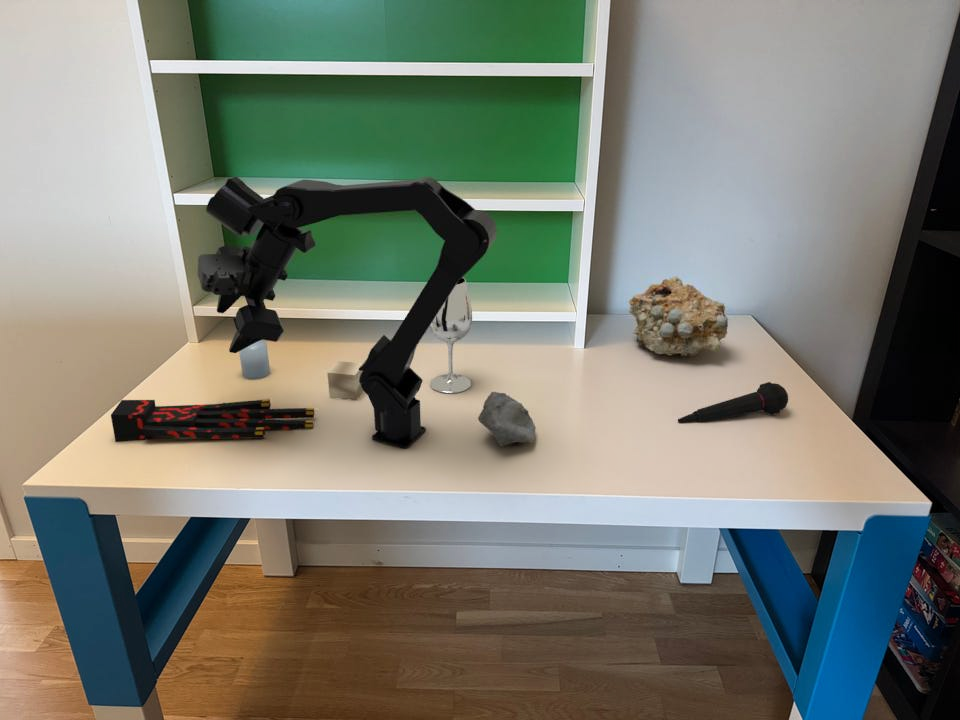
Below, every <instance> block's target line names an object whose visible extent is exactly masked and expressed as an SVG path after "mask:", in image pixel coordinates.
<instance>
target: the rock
mask: <svg viewBox="0 0 960 720" xmlns="http://www.w3.org/2000/svg"><path fill="white" fill-rule="evenodd" d="M682 281H683V280H682V279H681V278H679V277H678V276H677V275H676V276H672V277H670V278H669V279H667V278H665V279H663V280H662V282H661V283H660V284H657V283H656V284H655V283H653V284H650V285H649V287H648V288H647V290H645V291H644V292H641V293H640V294H635V295H633V296H632V298H631V299H629V301H628V303H629V305H630V307H629V309H628V313H629V314H631V315H633V317H634V318H635V321H636V324H637V326H636V327H635V329H634V330H633V332H632V333H631V334H632V335H633V334H634V335H636V336H637V337H636V343H637V344H638V346H639V347H641V348H647V349H649V350H650V351H651V352H652V351H653V352H654V353H655V354H657V355H667V356H673V355H676V354H679V355H680V356H681V357H688V356H691V357H695V356H696V355H697V354H698V353H699V352H700V350H701V349H705V350H706V349H707V350H709V351H713V352H718V351H719V348H720V347H721V341H722V339H724V338H725V339H726V337H727V334H728V328H729V327H728V325H729V323H728V320H729V318H728V317H727V316H726V315H725V310H726V307H725V302H724V303H723V302H721V301H720V300H719V301H718V300H712V299H711V298H709V297H707V296H705V295H704V294H703V293H702V292H701V291H700V290H698V289H697V288H696V287H694V285H690V284H686V285H684V284H683V282H682Z"/></svg>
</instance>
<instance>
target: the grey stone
mask: <svg viewBox="0 0 960 720" xmlns="http://www.w3.org/2000/svg"><path fill="white" fill-rule="evenodd" d="M477 419H478V421H479V423H480V424H482V426H484V427H485V428H486V429H487V430H488V431H490V432H491V433H492V435H493V437H494V438H495V439H496V441H497V443H498V444H499V445H500V446H501V447H503V446H507V445H511V444H513V443H531V442H532V441H533V439H534V438H535V434H536V425H535V423H534V421H533V418H532V417H531V416H530V414H529V410H528V409H527V408H525V406H524V405H523V404H522V403H521V402H519V401H517V400H516V399H514V398H513V397H511V396H510V395H507V393H506V392H505V393H504V392H498V391H491V392H490V394H489V395H488V396H487V398H486V399H485V400H484V402H483V407H482V410H481V411H480V413H479V415H478V417H477Z"/></svg>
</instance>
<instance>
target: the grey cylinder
mask: <svg viewBox="0 0 960 720" xmlns="http://www.w3.org/2000/svg"><path fill="white" fill-rule="evenodd" d="M238 353H239V358H240V359H239V361H240V365H241V373H242V377H243V378H244V379H245V380H249V381H251V380H253V381H254V380H262V379H264V378H267V377H269V376H270V374H271V367H270V360H269V352H268V344H267V342H266V340H260V341H258V342H256V343H254V344H252V345H250V346H248V347H246V348H244V349H243V350H241V351H239V352H238Z"/></svg>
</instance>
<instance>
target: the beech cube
mask: <svg viewBox="0 0 960 720" xmlns="http://www.w3.org/2000/svg"><path fill="white" fill-rule="evenodd" d="M363 363H364V362H352V361H341V360H337V361H336V362H335V363H334V365H333V366H332V367H331V368H330V369H329V370H328V372H327V380H328V381H327V382H328V383H327V384H328V394H329V395H328V396H329V399H336V398H339V400H347V399H351V400H350V401H358V400H357V399H359V398H360V397H361V395H362V394H363V393H364V390H363V389H362V387H361V384H360V383H359V378H360V375H361V373H362V372H363V371H360V370H359V368H360V366H361V365H362V364H363ZM340 398H341V399H340Z"/></svg>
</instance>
